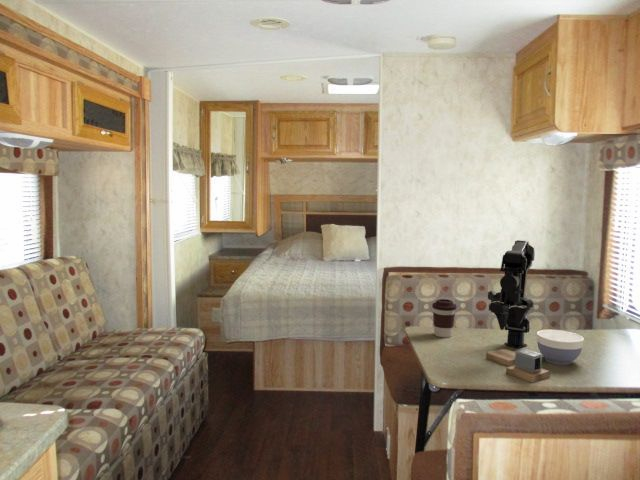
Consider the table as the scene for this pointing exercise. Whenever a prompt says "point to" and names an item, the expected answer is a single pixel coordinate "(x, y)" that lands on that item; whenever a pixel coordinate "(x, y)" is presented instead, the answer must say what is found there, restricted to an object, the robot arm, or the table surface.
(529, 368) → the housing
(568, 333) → the bowl
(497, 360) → the stand
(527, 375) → the stand
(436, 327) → the coffee cup
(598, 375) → the table surface
